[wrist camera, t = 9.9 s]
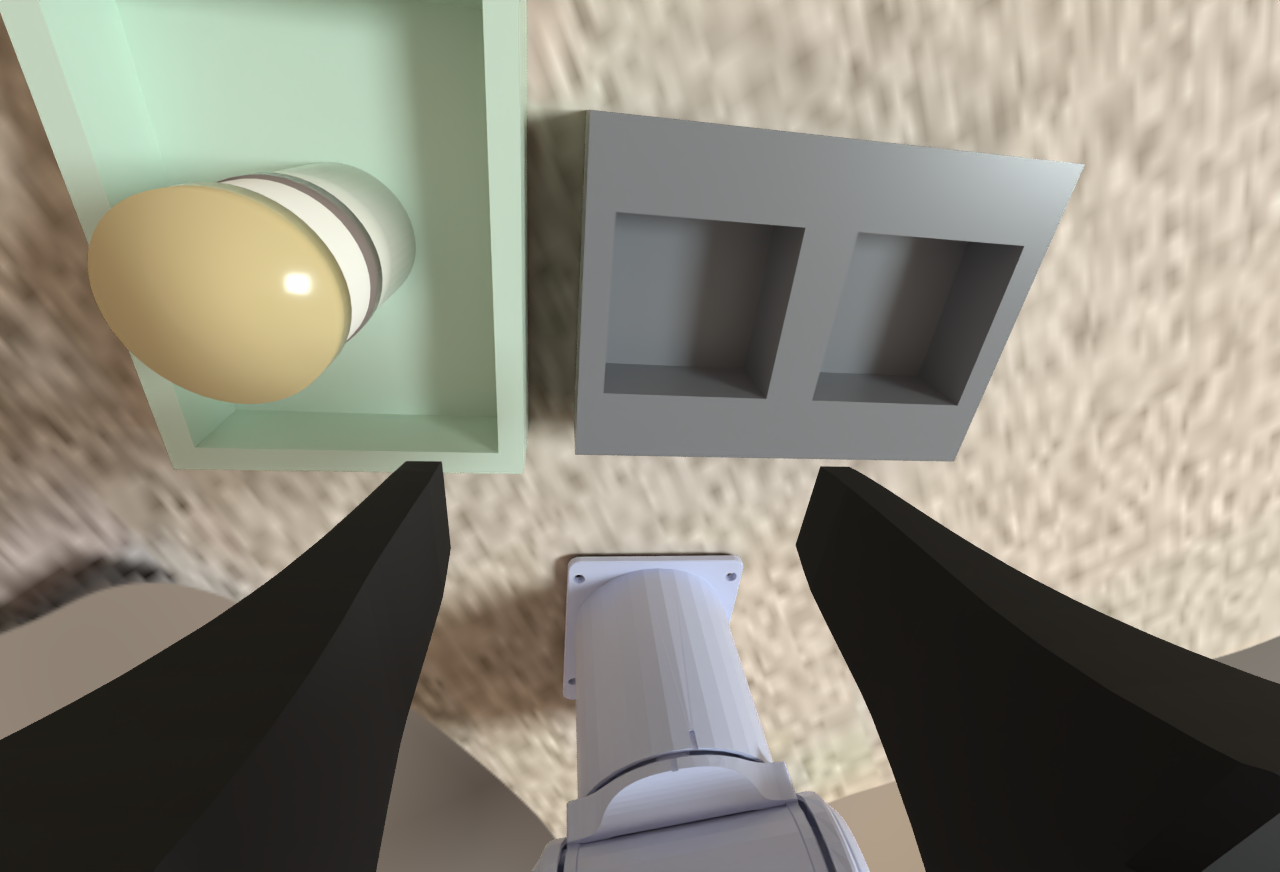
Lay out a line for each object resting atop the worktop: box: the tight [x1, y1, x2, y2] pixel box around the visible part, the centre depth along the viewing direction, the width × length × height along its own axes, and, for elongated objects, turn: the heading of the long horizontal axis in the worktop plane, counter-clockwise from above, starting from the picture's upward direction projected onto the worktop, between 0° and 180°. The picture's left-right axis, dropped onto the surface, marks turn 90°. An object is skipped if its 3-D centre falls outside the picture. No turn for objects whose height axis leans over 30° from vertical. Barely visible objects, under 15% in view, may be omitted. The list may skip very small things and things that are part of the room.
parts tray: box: [0, 0, 528, 474], centre depth 16 cm, size 14×11×3 cm
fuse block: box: [574, 110, 1085, 461], centre depth 19 cm, size 10×14×3 cm
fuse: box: [87, 162, 416, 404], centre depth 14 cm, size 4×4×7 cm
